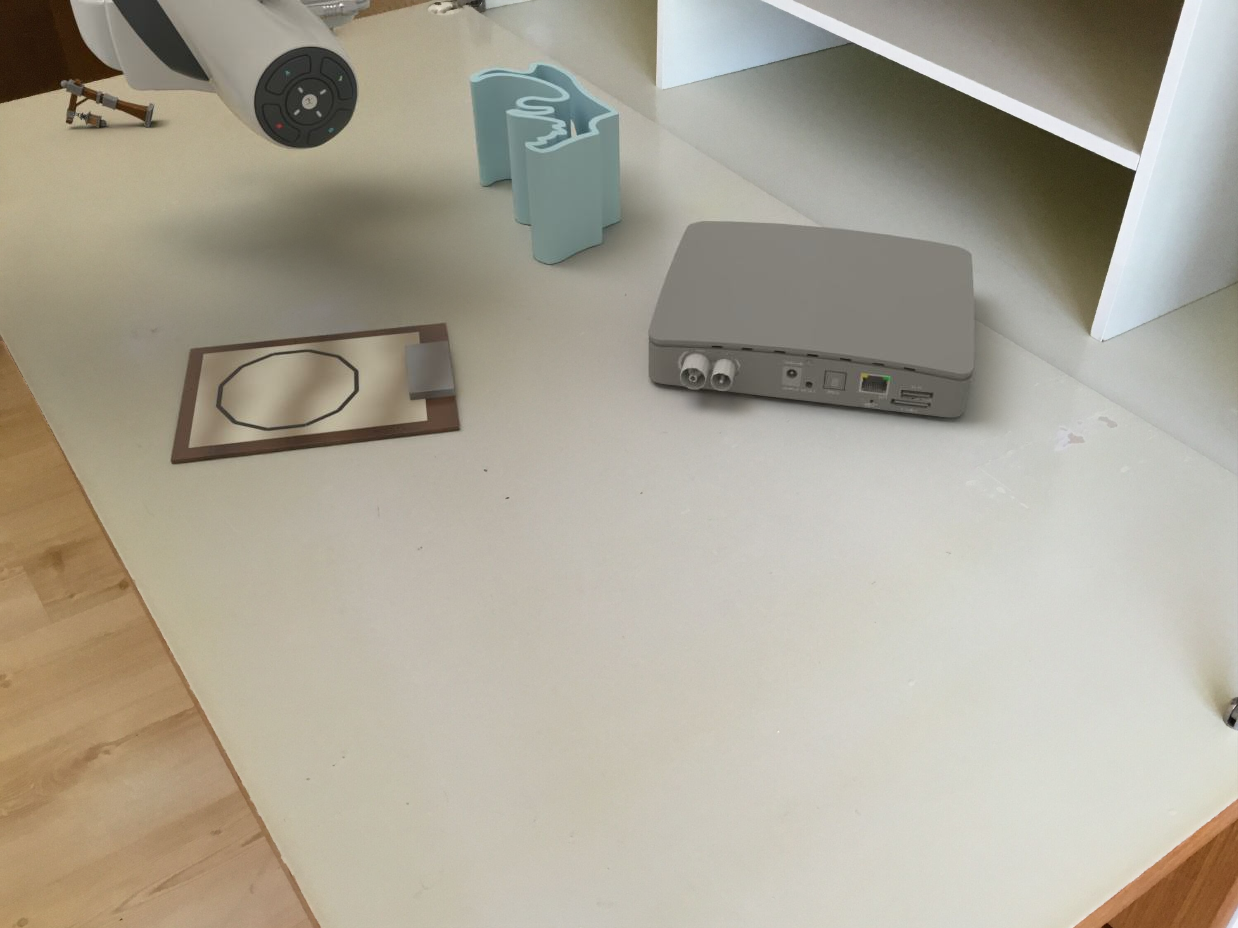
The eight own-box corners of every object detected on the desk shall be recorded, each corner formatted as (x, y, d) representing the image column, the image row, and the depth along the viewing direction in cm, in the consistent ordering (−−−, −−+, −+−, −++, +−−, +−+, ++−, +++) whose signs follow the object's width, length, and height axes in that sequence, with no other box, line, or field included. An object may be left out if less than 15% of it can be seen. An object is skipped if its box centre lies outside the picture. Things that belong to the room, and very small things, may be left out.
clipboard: (171, 463, 72) (167, 452, 72) (191, 352, 82) (187, 340, 81) (459, 429, 75) (458, 418, 75) (446, 325, 85) (444, 314, 84)
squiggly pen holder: (649, 237, 96) (649, 128, 89) (543, 266, 92) (535, 154, 86) (553, 157, 107) (547, 56, 101) (455, 180, 103) (442, 76, 97)
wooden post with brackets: (58, 114, 111) (64, 71, 108) (147, 143, 114) (154, 101, 111) (53, 122, 109) (59, 78, 107) (143, 151, 112) (151, 108, 110)
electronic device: (963, 439, 75) (977, 376, 72) (640, 400, 78) (640, 338, 75) (961, 292, 89) (973, 234, 86) (688, 264, 92) (690, 206, 89)
